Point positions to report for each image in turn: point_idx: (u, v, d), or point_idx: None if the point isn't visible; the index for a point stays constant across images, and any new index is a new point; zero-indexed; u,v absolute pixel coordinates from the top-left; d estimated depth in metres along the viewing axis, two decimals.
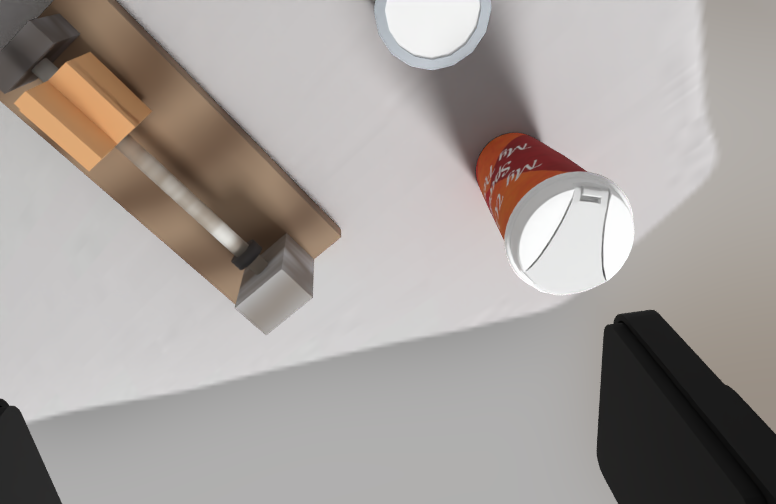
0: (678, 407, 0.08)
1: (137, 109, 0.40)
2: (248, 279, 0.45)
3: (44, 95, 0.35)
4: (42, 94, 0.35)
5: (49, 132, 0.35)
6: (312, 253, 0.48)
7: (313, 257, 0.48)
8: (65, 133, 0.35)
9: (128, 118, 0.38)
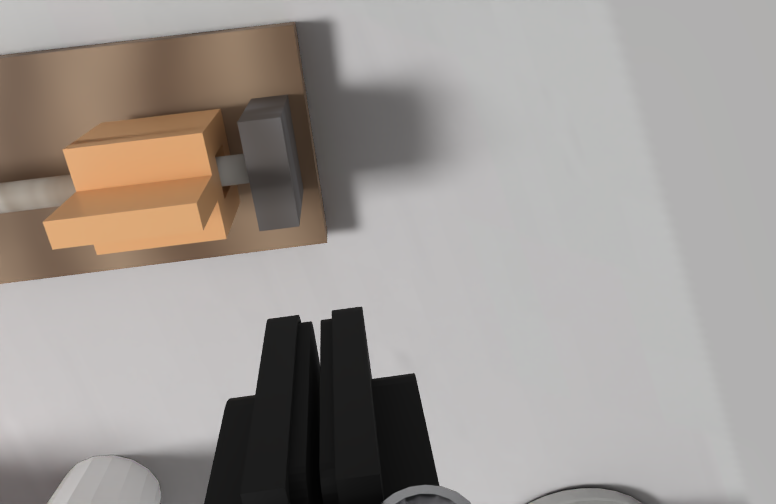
0: (324, 392, 0.09)
1: None
2: None
3: None
4: None
5: (129, 214, 0.21)
6: None
7: None
8: (117, 233, 0.21)
9: (114, 250, 0.25)
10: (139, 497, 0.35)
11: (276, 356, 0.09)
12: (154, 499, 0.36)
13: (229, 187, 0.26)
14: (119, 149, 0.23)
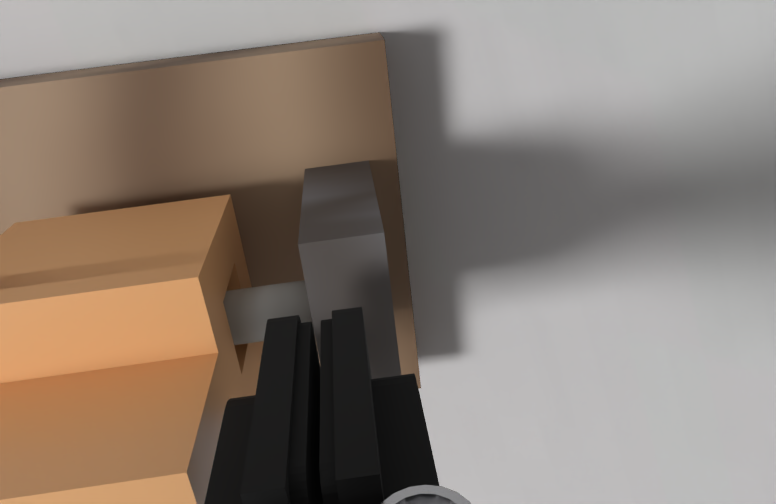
0: (325, 392, 0.09)
1: None
2: None
3: None
4: None
5: (32, 500, 0.09)
6: None
7: None
8: None
9: None
10: None
11: (276, 356, 0.09)
12: None
13: None
14: (27, 312, 0.11)
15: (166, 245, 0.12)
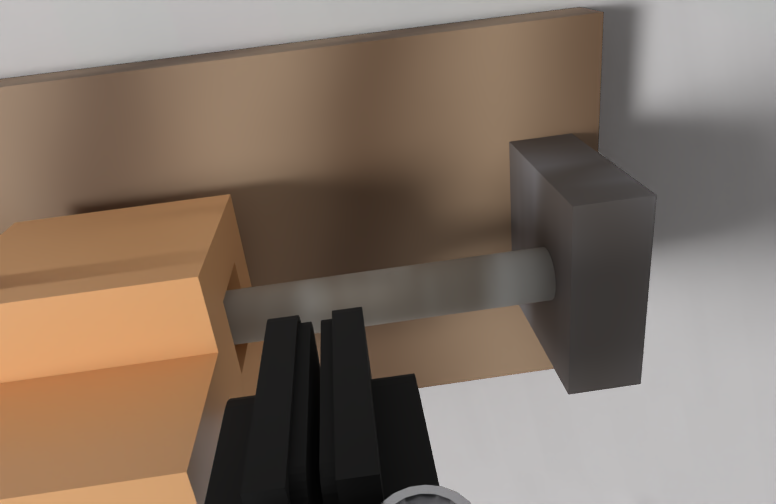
0: (324, 392, 0.09)
1: None
2: None
3: None
4: None
5: (33, 500, 0.09)
6: None
7: None
8: None
9: None
10: None
11: (276, 356, 0.09)
12: None
13: None
14: (27, 312, 0.11)
15: (166, 245, 0.12)
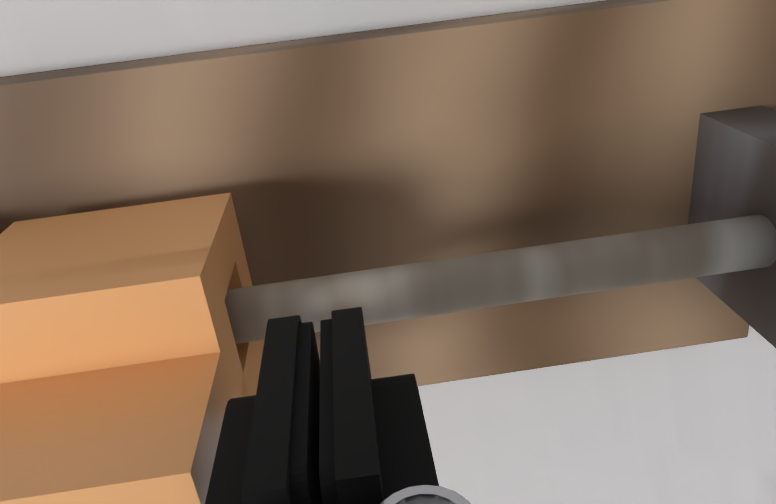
0: (324, 393, 0.09)
1: None
2: None
3: None
4: None
5: (36, 501, 0.09)
6: None
7: None
8: None
9: None
10: None
11: (277, 356, 0.09)
12: None
13: None
14: (28, 312, 0.11)
15: (167, 244, 0.12)
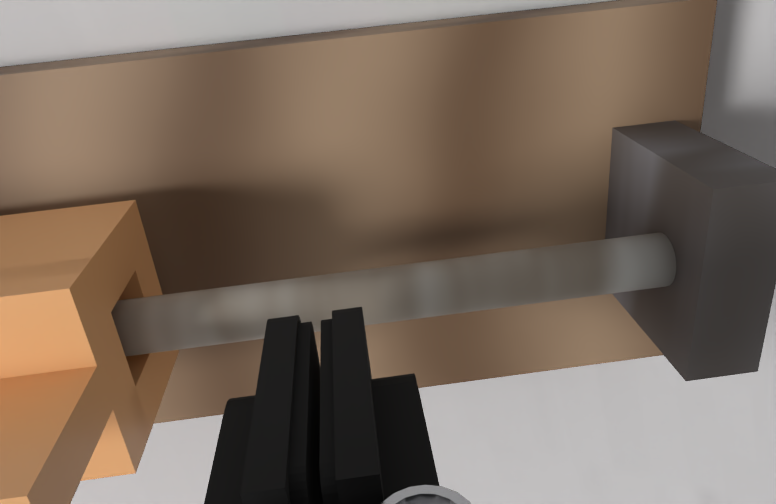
0: (324, 393, 0.09)
1: None
2: None
3: None
4: None
5: None
6: None
7: None
8: None
9: None
10: None
11: (276, 356, 0.09)
12: None
13: None
14: None
15: (51, 253, 0.12)
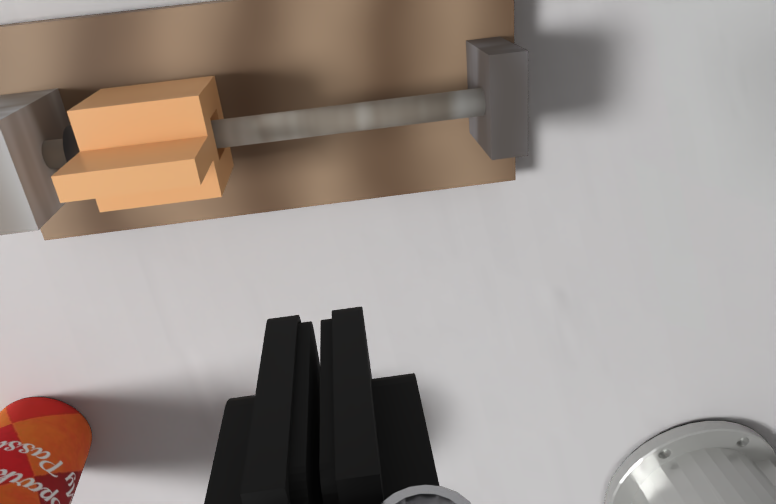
0: (324, 392, 0.09)
1: None
2: (38, 122, 0.26)
3: None
4: None
5: (132, 169, 0.22)
6: None
7: None
8: (120, 187, 0.22)
9: (116, 208, 0.26)
10: None
11: (276, 356, 0.09)
12: None
13: (223, 150, 0.28)
14: (120, 111, 0.24)
15: (182, 89, 0.26)
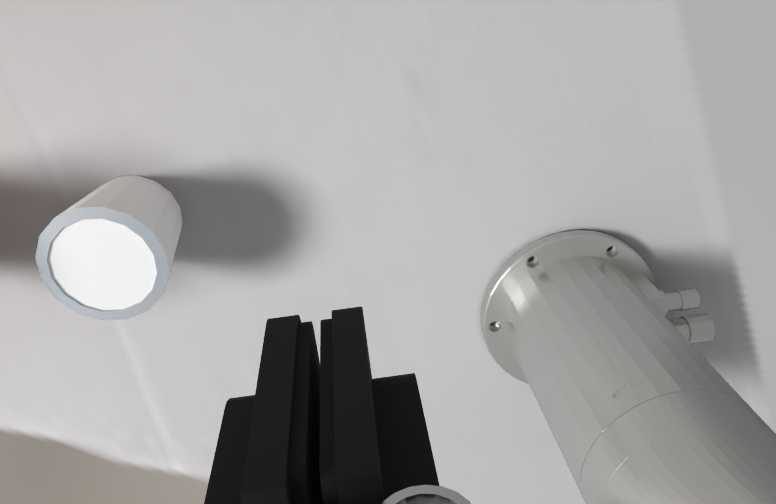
0: (324, 392, 0.09)
1: None
2: None
3: None
4: None
5: None
6: None
7: None
8: None
9: None
10: (164, 203, 0.37)
11: (276, 356, 0.09)
12: (177, 215, 0.39)
13: None
14: None
15: None
